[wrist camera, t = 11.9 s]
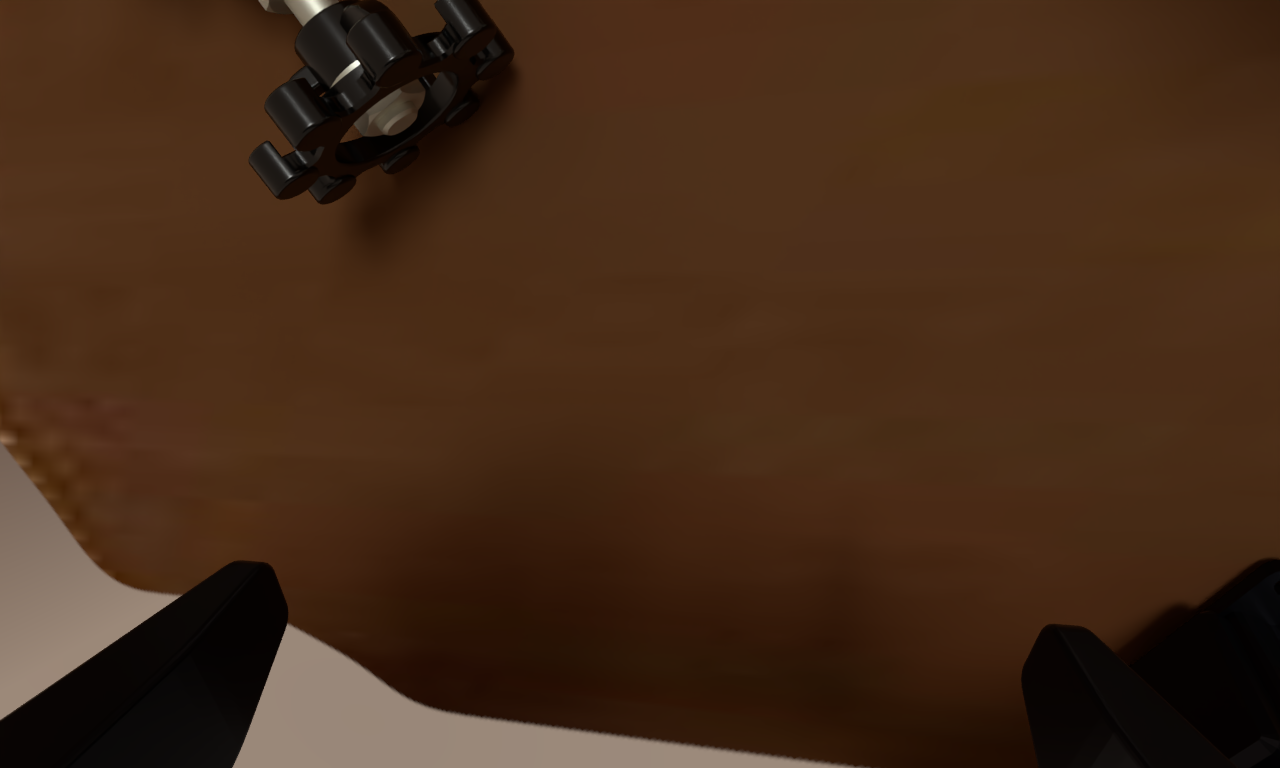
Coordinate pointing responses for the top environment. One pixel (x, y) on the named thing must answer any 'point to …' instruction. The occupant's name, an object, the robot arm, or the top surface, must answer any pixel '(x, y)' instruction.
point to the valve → (371, 90)
